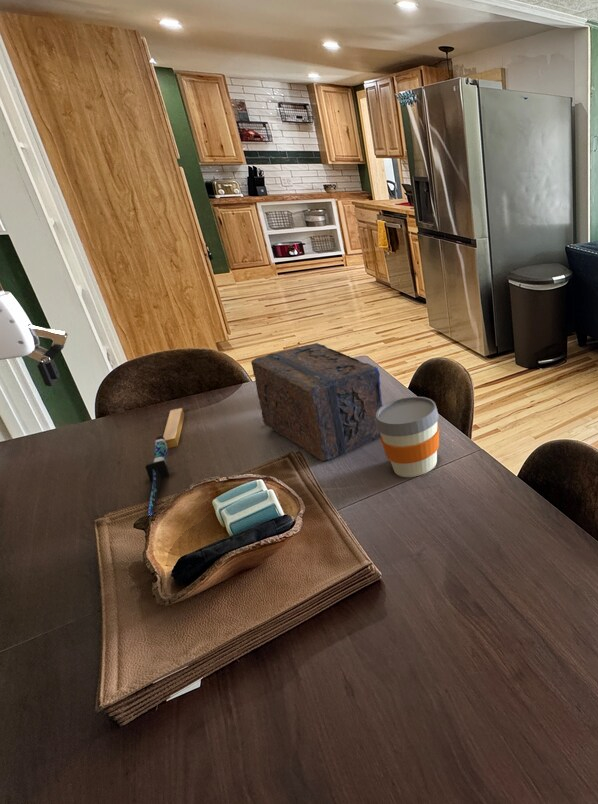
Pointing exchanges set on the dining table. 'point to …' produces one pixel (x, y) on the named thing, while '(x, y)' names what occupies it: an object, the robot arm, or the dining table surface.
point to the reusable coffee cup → (409, 434)
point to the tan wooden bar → (174, 427)
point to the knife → (157, 471)
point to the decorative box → (319, 398)
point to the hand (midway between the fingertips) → (9, 389)
